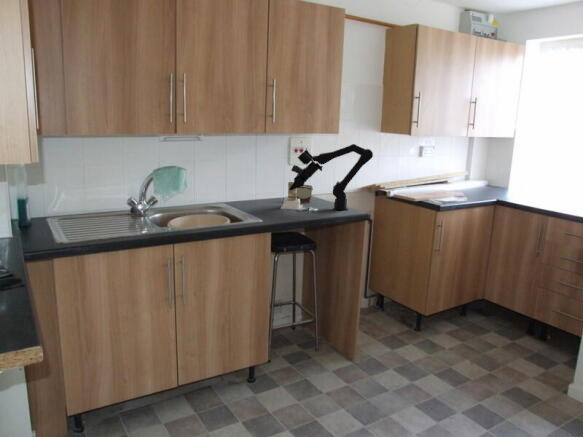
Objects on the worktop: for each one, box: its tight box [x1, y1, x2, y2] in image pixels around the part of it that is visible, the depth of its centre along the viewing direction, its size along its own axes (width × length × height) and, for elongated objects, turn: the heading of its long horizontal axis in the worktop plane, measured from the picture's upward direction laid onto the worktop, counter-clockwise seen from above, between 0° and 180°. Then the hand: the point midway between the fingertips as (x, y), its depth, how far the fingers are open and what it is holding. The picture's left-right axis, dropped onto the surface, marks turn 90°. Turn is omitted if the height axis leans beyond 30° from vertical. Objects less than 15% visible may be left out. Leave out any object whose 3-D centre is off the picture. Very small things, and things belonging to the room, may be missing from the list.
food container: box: [297, 184, 314, 204], centre depth 298 cm, size 12×6×10 cm, turn 66°
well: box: [280, 197, 304, 211], centre depth 279 cm, size 12×12×4 cm
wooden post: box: [287, 181, 297, 201], centre depth 277 cm, size 5×5×11 cm
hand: (290, 189), depth 277 cm, fingers closed on wooden post, 4 cm apart
